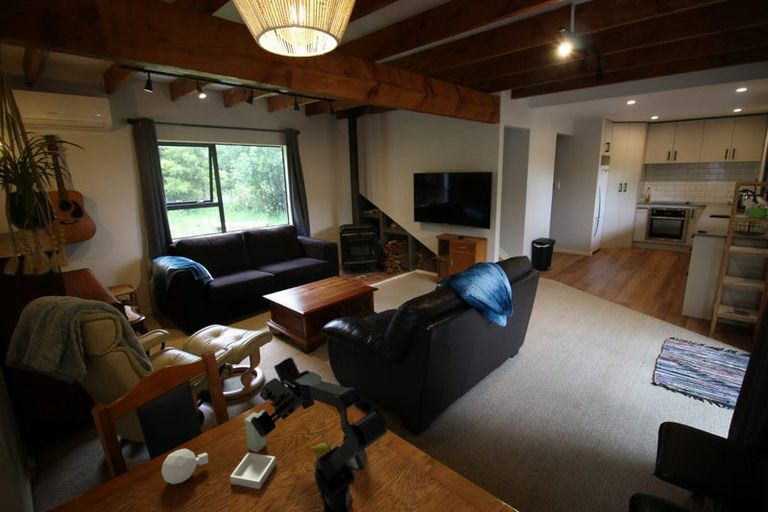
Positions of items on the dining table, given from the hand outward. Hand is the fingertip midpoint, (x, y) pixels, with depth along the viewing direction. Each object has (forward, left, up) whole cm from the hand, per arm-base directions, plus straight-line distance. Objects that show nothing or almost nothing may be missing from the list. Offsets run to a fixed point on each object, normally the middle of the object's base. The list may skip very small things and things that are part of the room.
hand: (269, 419), depth 113 cm
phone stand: (-25, -2, -13) cm, 28 cm away
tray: (+2, +8, -13) cm, 15 cm away
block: (+7, -2, -13) cm, 15 cm away
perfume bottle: (+21, +13, -13) cm, 28 cm away
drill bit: (-16, -1, -13) cm, 21 cm away
